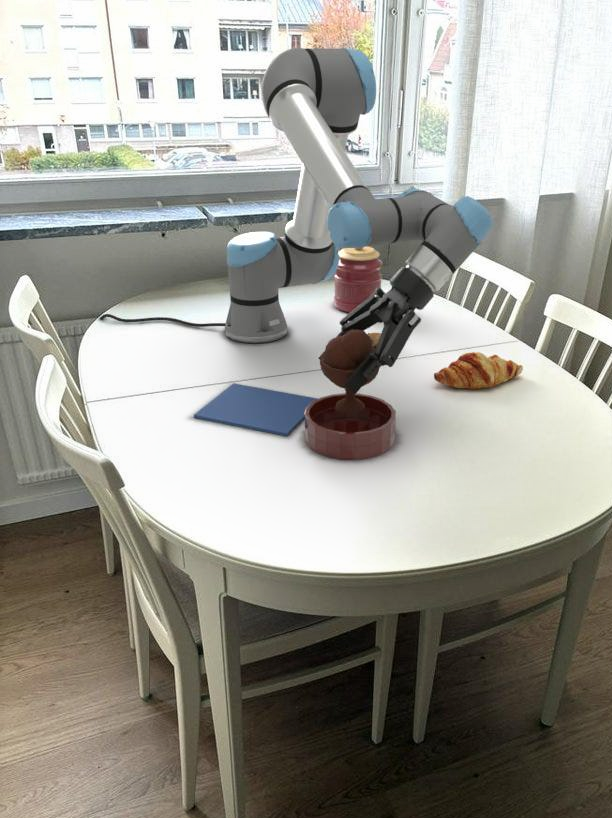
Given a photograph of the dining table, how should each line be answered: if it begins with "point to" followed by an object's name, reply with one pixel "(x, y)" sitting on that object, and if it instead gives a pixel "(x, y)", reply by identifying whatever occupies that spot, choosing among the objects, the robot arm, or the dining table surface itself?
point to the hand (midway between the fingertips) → (336, 375)
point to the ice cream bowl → (346, 365)
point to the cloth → (257, 409)
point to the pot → (350, 428)
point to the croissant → (477, 371)
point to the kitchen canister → (356, 277)
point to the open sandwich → (374, 338)
